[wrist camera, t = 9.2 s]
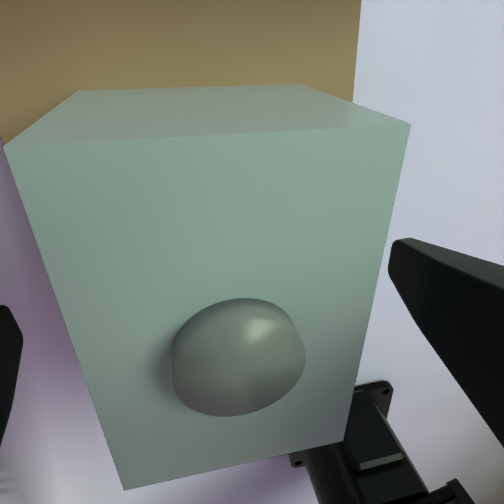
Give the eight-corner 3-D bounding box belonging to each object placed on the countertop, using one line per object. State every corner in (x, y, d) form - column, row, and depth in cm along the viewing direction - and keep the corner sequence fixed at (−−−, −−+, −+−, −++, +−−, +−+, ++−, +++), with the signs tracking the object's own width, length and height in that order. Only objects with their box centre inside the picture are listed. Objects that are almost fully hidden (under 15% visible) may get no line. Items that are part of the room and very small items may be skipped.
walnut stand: (305, 297, 18) (330, 342, 15) (111, 333, 16) (103, 389, 14) (317, -9, 11) (363, -21, 9) (-2, 5, 10) (-56, -4, 7)
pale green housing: (300, 83, 10) (436, 133, 5) (286, 316, 14) (352, 463, 9) (77, 90, 9) (-18, 162, 4) (134, 339, 13) (122, 519, 8)
